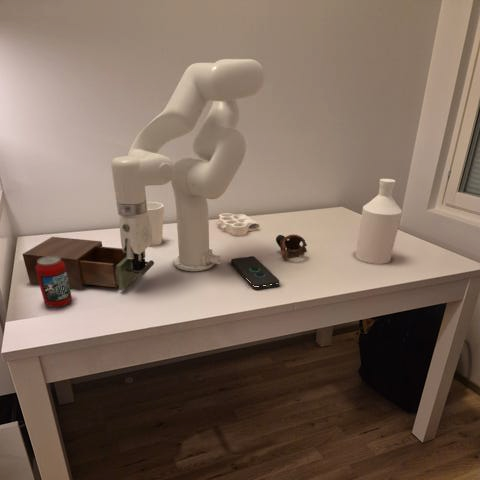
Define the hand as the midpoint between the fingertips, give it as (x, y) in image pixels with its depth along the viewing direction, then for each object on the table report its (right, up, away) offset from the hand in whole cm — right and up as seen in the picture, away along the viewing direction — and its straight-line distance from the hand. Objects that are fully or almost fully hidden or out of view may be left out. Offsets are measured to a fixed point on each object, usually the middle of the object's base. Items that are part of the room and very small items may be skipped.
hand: (139, 272), depth 118 cm
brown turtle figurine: (+45, +8, +22) cm, 51 cm away
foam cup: (-3, +14, +30) cm, 34 cm away
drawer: (-7, -2, +2) cm, 8 cm away
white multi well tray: (+27, +22, +46) cm, 57 cm away
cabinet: (-22, -1, +5) cm, 23 cm away
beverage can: (-19, -9, -8) cm, 23 cm away
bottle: (+73, +7, +22) cm, 76 cm away
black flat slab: (+32, 0, +9) cm, 34 cm away
